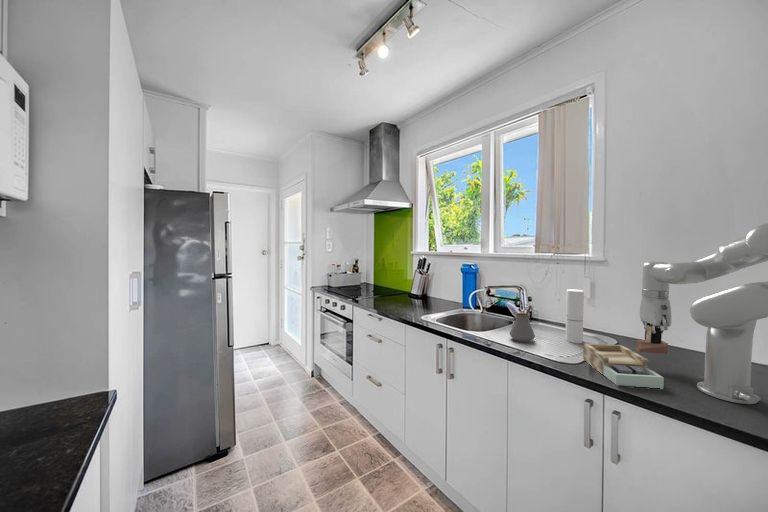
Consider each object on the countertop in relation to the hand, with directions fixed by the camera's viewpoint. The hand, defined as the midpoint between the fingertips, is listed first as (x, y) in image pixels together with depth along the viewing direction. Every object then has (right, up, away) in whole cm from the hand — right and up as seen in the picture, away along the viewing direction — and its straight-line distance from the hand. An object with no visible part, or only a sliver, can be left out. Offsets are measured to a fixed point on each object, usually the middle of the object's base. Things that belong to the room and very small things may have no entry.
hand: (652, 341), depth 113 cm
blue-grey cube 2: (-19, -8, -8) cm, 22 cm away
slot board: (-15, -11, 0) cm, 18 cm away
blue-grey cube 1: (-14, -8, -9) cm, 18 cm away
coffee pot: (-31, -9, +38) cm, 50 cm away
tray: (-17, -11, -11) cm, 23 cm away
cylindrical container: (-9, -9, +32) cm, 35 cm away
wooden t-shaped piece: (0, -4, 0) cm, 4 cm away
